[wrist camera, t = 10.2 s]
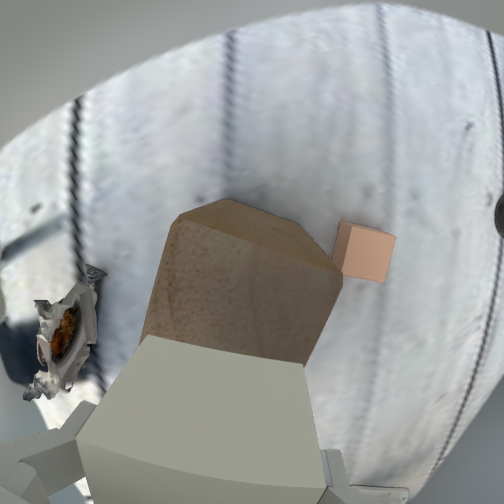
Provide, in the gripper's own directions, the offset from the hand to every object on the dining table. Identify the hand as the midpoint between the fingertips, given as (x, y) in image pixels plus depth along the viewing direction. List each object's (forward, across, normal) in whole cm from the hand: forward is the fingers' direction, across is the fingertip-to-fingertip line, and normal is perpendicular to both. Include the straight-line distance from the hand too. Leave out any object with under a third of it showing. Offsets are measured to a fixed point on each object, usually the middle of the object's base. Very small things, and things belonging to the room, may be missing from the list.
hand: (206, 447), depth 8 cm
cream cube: (+2, 0, 0) cm, 2 cm away
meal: (+29, -20, -13) cm, 38 cm away
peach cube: (+29, +12, +3) cm, 32 cm away
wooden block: (+29, 0, 0) cm, 29 cm away
